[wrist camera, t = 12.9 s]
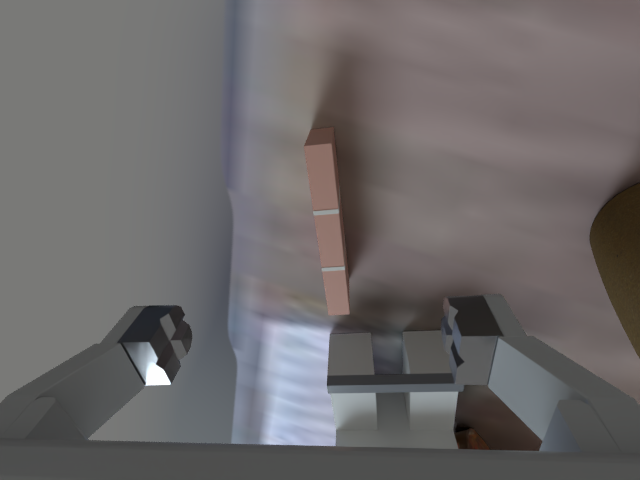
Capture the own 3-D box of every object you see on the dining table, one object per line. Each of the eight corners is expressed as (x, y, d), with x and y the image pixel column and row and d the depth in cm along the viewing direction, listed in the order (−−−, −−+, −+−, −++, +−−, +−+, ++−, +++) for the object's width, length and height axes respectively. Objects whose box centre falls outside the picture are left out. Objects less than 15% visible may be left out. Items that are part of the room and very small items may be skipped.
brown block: (334, 126, 23) (331, 143, 19) (349, 279, 30) (349, 314, 26) (310, 129, 23) (303, 146, 20) (330, 280, 30) (328, 315, 26)
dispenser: (445, 330, 32) (474, 411, 25) (436, 429, 40) (456, 513, 33) (329, 334, 33) (325, 413, 26) (343, 430, 41) (342, 510, 34)
